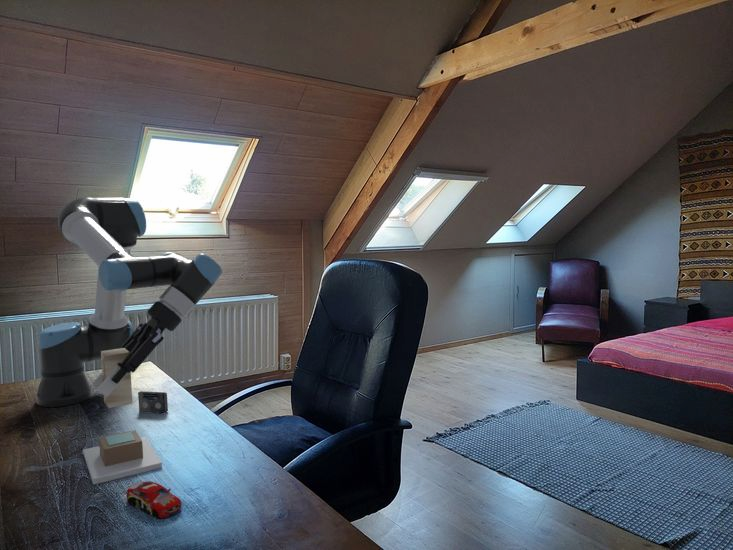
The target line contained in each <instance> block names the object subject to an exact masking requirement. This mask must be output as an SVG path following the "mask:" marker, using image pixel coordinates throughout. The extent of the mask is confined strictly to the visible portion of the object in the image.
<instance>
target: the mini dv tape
mask: <svg viewBox="0 0 733 550" xmlns="http://www.w3.org/2000/svg"><path fill="white" fill-rule="evenodd" d="M137 398H138V412H139V413H144V412H154V413H153V414H162V413H165V414H167V413H168V412H169V409H168V408H169V406H168V404H169V403H168V393H167V392H165V391H164V392H163V391H142V390H141V391H138V394H137ZM167 411H168V412H167ZM157 412H158V413H157ZM166 412H167V413H166Z"/></svg>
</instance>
